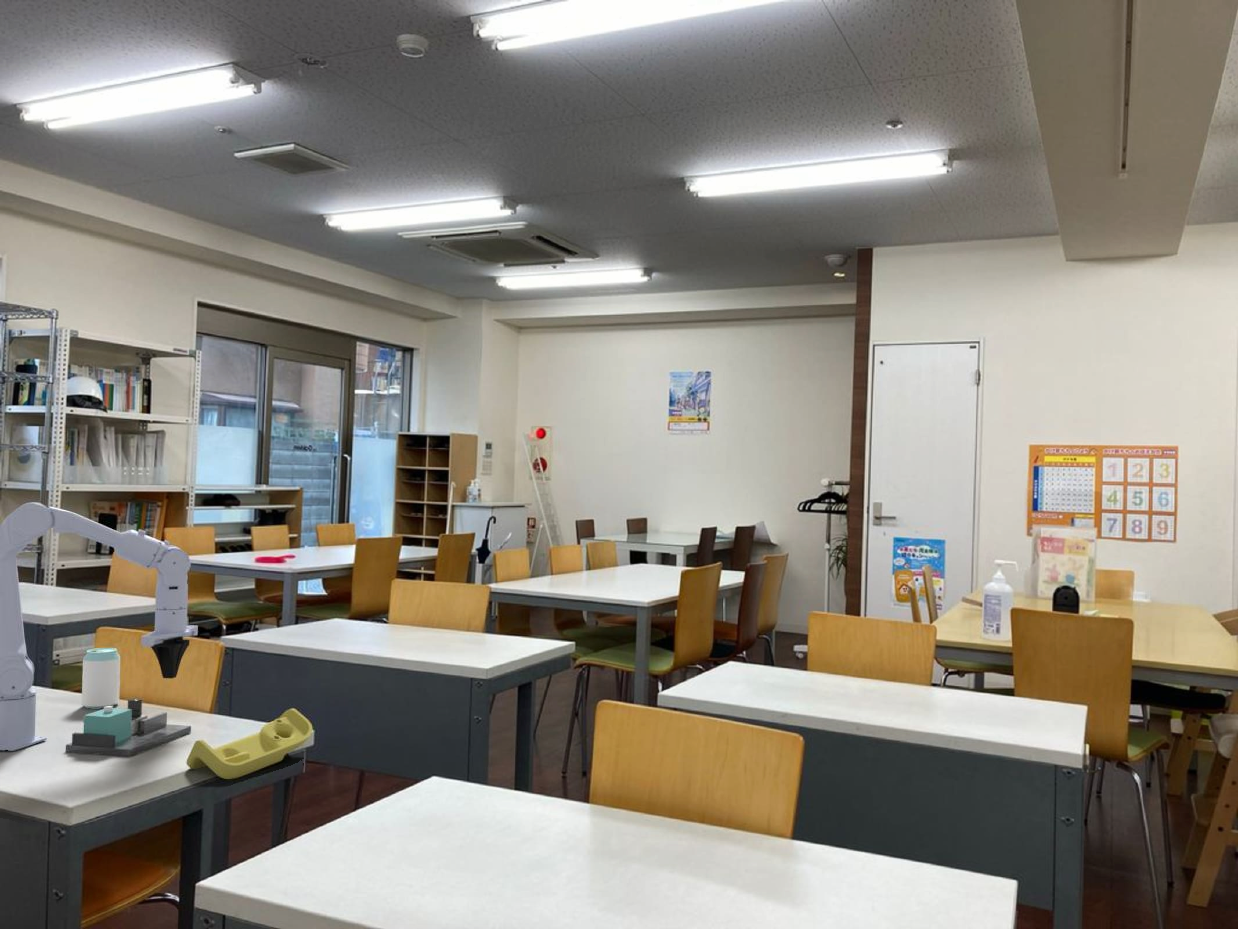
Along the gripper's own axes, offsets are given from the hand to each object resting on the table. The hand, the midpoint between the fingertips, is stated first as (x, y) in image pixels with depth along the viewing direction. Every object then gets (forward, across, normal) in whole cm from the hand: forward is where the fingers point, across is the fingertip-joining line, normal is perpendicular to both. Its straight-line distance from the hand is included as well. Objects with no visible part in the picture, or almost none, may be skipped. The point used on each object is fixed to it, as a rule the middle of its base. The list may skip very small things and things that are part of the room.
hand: (169, 677), depth 186 cm
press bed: (+10, -11, 0) cm, 15 cm away
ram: (+9, -9, +2) cm, 12 cm away
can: (+10, +13, +26) cm, 30 cm away
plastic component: (+10, -17, -29) cm, 35 cm away
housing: (+9, -14, +2) cm, 17 cm away
